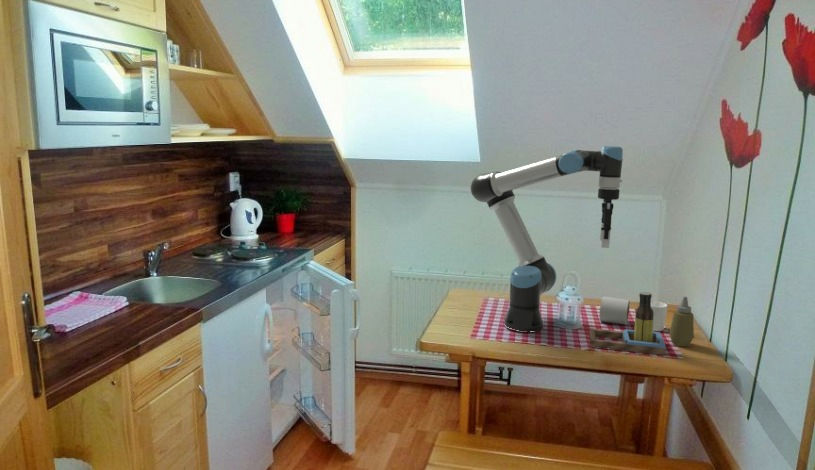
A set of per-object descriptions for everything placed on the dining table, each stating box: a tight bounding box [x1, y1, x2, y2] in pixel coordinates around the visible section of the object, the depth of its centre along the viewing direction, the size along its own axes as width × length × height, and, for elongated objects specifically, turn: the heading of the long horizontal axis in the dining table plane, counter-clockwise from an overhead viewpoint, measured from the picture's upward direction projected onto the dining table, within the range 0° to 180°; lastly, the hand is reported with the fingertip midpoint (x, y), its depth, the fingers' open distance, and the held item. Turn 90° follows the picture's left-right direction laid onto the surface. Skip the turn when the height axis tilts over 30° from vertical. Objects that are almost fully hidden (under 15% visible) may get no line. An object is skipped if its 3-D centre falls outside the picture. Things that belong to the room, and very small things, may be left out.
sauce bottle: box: [633, 291, 654, 343], centre depth 211 cm, size 6×6×20 cm
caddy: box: [589, 328, 666, 356], centre depth 214 cm, size 25×13×4 cm, turn 75°
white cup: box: [651, 300, 668, 332], centre depth 231 cm, size 8×8×10 cm
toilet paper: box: [599, 296, 631, 326], centre depth 237 cm, size 10×10×10 cm
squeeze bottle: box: [669, 296, 695, 348], centre depth 213 cm, size 8×8×18 cm
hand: (604, 243), depth 223 cm, fingers open, 13 cm apart
